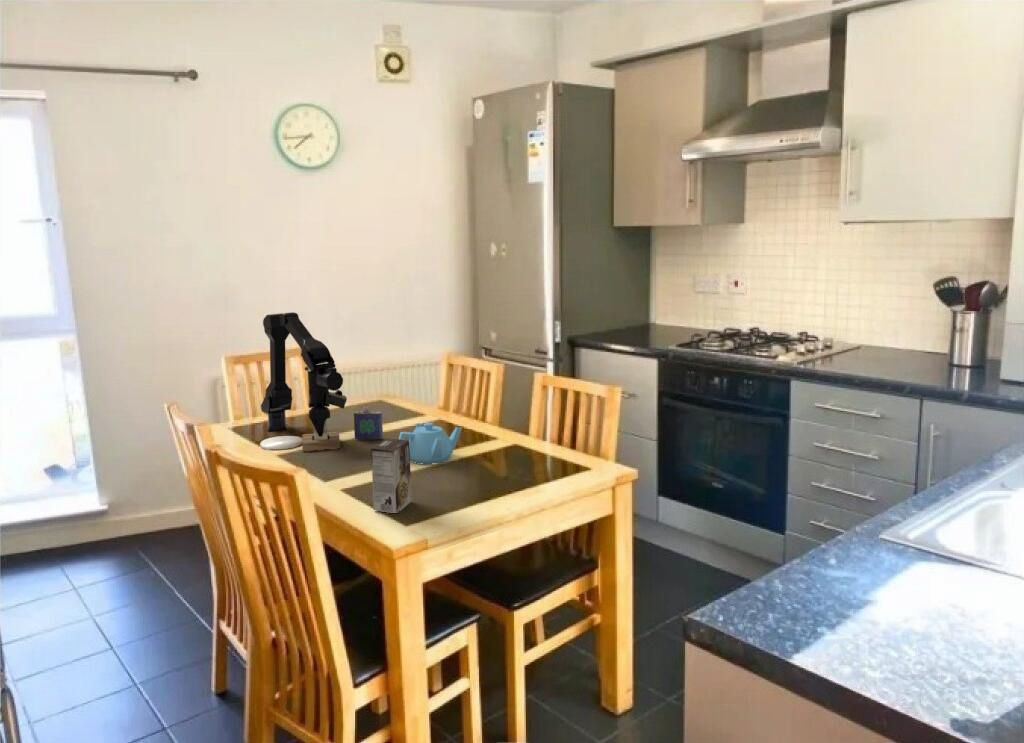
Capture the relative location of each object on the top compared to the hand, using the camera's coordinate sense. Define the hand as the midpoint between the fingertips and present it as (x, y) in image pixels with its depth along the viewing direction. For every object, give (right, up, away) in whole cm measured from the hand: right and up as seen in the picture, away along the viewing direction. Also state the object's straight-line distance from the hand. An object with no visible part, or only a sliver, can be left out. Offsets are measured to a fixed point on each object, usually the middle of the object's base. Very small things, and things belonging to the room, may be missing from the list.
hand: (320, 434), depth 241 cm
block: (0, -3, +1) cm, 4 cm away
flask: (+14, -2, +7) cm, 16 cm away
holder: (0, -3, +1) cm, 4 cm away
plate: (-13, -3, +2) cm, 13 cm away
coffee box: (+31, -14, -52) cm, 62 cm away
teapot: (+36, -6, -13) cm, 39 cm away
